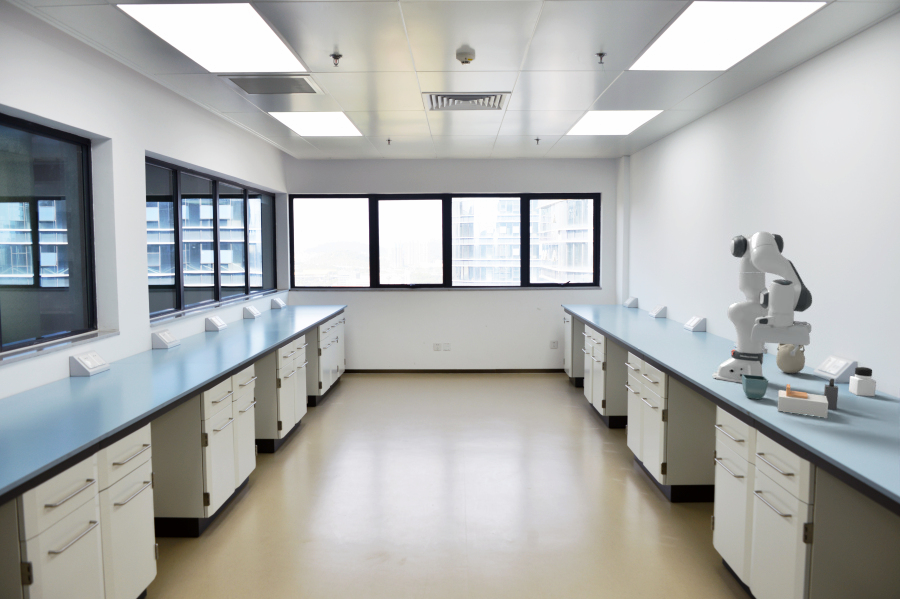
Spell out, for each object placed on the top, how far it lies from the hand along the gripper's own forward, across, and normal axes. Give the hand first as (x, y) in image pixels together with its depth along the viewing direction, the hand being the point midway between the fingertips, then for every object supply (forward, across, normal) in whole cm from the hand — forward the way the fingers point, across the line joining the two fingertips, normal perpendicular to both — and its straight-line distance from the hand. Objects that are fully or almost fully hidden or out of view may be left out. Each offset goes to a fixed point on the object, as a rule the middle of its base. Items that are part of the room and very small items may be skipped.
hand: (778, 354), depth 217 cm
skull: (+22, -7, -77) cm, 80 cm away
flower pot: (+22, +8, -12) cm, 26 cm away
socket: (+22, -9, 0) cm, 23 cm away
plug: (+22, -19, -11) cm, 31 cm away
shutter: (+16, -7, 0) cm, 17 cm away
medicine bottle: (+22, -34, -46) cm, 61 cm away
